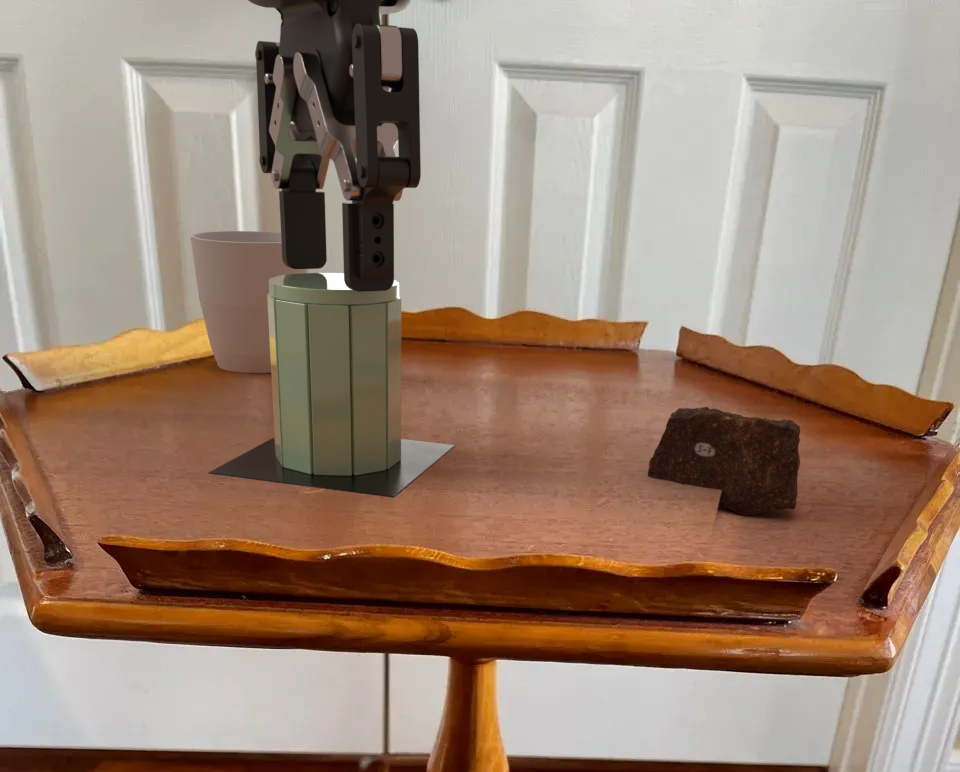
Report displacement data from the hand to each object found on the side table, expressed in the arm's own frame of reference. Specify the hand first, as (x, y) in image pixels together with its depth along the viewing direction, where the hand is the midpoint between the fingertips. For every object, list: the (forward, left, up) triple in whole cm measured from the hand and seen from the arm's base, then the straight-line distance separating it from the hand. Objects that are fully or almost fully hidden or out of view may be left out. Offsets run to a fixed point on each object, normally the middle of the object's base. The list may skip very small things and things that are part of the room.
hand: (335, 278), depth 51 cm
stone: (+20, +4, -11) cm, 23 cm away
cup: (-15, +20, -11) cm, 27 cm away
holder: (0, 0, -10) cm, 10 cm away
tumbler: (0, 0, -9) cm, 9 cm away
